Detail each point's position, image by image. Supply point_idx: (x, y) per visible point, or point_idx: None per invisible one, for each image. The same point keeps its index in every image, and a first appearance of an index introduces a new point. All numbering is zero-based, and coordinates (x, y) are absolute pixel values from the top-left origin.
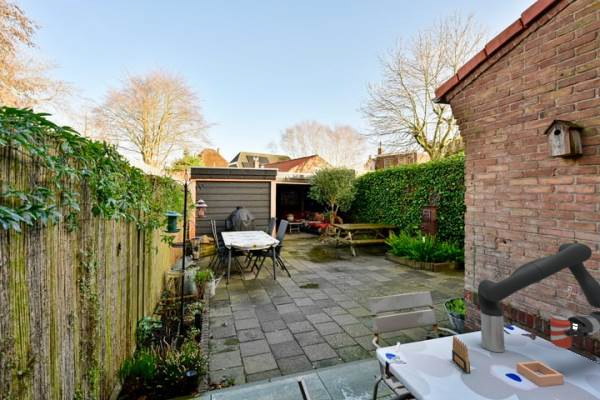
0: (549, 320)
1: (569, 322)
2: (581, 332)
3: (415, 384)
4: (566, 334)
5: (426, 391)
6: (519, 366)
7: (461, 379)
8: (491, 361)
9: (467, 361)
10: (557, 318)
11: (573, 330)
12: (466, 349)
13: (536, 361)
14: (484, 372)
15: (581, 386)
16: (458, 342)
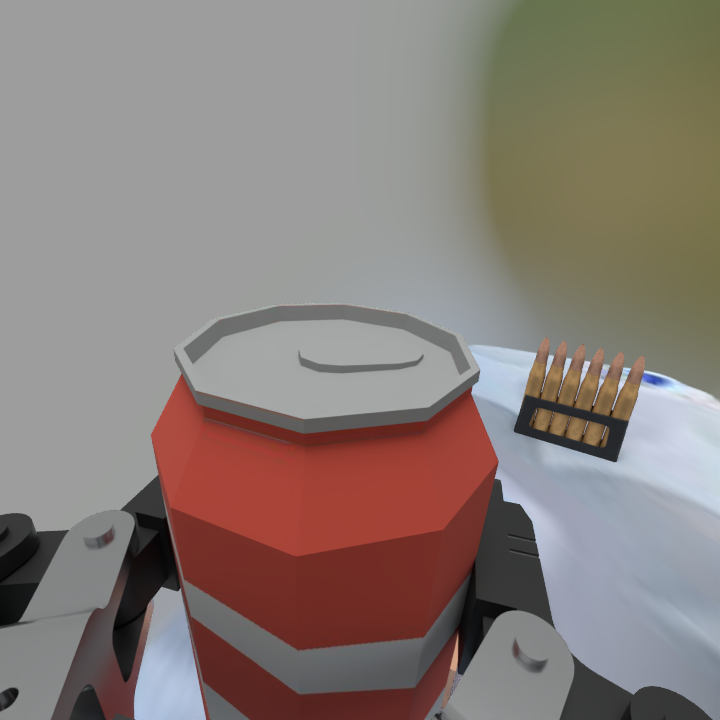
0: (665, 707)
1: (163, 413)
2: (9, 524)
3: (503, 351)
4: None
5: (474, 350)
6: None
7: (492, 401)
8: (595, 558)
9: (525, 391)
10: (355, 340)
11: (131, 524)
12: (537, 352)
13: (455, 648)
14: (508, 461)
15: (194, 694)
16: (593, 359)
